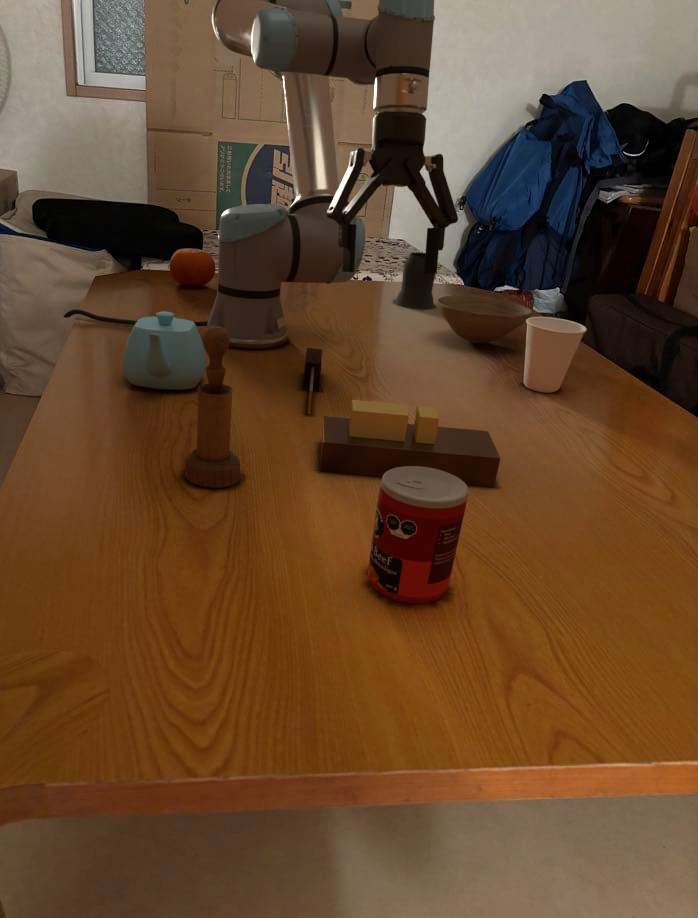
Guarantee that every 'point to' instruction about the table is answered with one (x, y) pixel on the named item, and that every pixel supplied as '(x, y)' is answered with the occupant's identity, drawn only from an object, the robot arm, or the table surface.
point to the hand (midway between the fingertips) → (389, 273)
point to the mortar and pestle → (213, 421)
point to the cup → (549, 351)
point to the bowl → (481, 317)
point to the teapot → (164, 353)
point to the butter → (378, 420)
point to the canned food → (416, 533)
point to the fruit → (192, 267)
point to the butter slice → (426, 424)
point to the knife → (312, 372)
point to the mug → (416, 284)
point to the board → (410, 453)
